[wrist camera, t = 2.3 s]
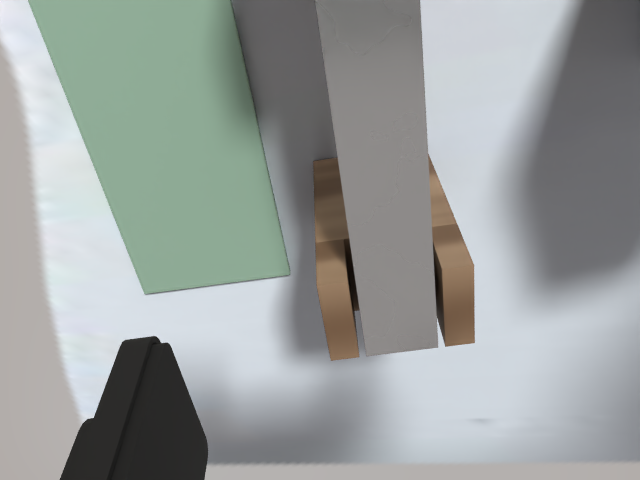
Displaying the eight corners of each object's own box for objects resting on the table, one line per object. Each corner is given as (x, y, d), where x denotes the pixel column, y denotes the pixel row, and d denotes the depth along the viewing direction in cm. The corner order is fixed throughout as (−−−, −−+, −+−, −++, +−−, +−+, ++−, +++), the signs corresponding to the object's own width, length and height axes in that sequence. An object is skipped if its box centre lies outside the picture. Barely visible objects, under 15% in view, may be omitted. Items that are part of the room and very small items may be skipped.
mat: (-66, -250, 22) (-72, -251, 22) (166, -295, 22) (164, -298, 21) (146, 290, 36) (144, 294, 36) (290, 270, 36) (290, 274, 36)
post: (313, 161, 32) (316, 285, 23) (424, 144, 32) (474, 265, 22) (323, 223, 34) (330, 360, 25) (428, 209, 34) (474, 343, 24)
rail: (281, -241, 16) (277, -257, 14) (389, -261, 16) (405, -282, 14) (360, 309, 27) (366, 356, 25) (425, 301, 27) (438, 347, 25)
